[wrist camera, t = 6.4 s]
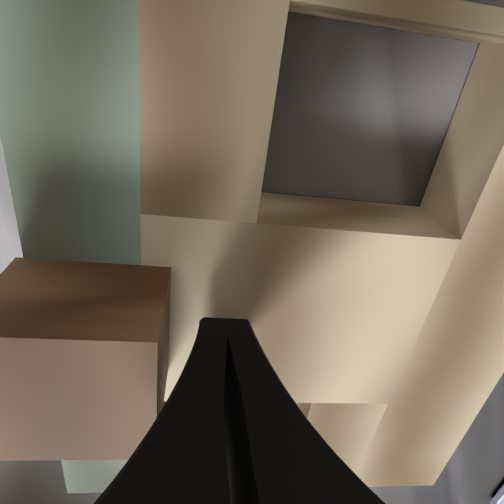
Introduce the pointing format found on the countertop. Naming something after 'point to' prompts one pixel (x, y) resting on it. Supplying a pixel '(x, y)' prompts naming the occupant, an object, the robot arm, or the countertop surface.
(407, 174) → the countertop surface
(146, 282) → the walnut block
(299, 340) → the trap board
